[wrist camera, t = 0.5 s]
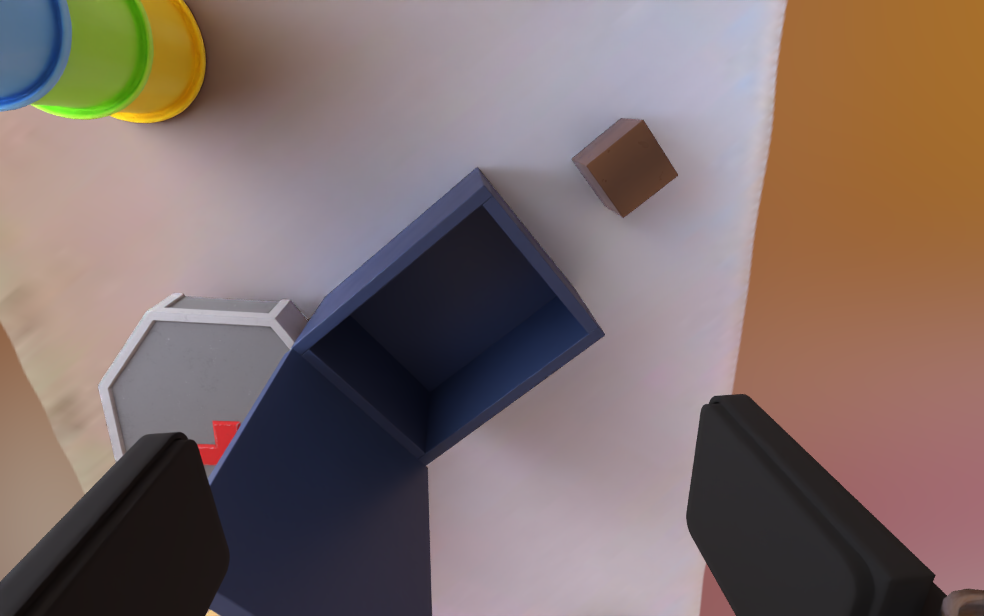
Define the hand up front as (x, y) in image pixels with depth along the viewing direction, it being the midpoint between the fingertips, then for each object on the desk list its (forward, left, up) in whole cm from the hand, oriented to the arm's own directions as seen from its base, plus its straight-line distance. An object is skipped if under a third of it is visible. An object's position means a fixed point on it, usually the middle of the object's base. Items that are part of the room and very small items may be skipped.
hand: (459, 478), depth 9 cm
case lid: (+7, -14, -15) cm, 21 cm away
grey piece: (+4, -27, -34) cm, 44 cm away
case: (+7, -6, -34) cm, 35 cm away
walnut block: (+7, +11, -34) cm, 37 cm away
